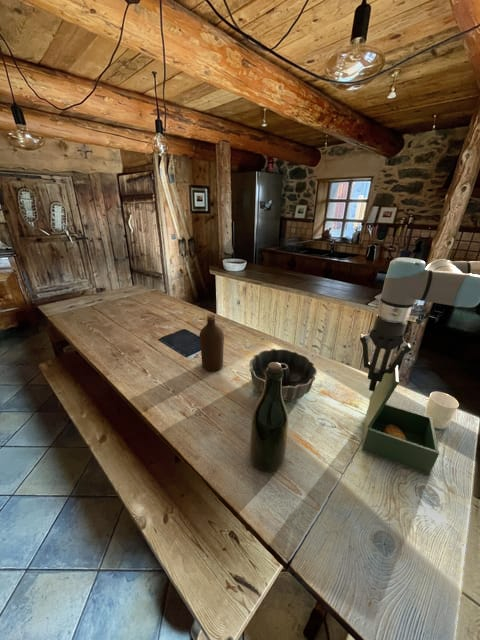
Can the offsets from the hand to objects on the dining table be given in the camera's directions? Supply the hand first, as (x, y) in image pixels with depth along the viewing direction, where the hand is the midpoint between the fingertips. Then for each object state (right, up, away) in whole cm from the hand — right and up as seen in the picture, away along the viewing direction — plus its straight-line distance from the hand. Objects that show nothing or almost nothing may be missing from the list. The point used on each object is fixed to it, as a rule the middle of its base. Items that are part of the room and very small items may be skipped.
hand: (371, 388), depth 80 cm
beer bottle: (-32, -20, -1) cm, 38 cm away
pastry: (+9, -18, +4) cm, 20 cm away
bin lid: (+3, -1, -1) cm, 3 cm away
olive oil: (-52, 0, +41) cm, 66 cm away
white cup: (+28, -15, +12) cm, 34 cm away
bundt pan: (-23, -7, +28) cm, 37 cm away
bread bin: (+9, -19, +4) cm, 21 cm away
